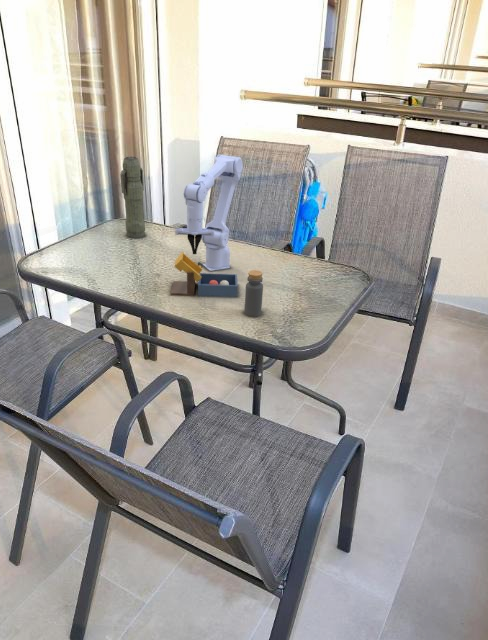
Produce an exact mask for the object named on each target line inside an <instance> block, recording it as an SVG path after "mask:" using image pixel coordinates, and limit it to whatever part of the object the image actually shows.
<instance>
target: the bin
mask: <svg viewBox="0 0 488 640" xmlns="http://www.w3.org/2000/svg"><path fill="white" fill-rule="evenodd" d="M199 275H200V276H201V277H202V278H201V279H200V280H199V281H198V282H197V296H198V297H216V298H217V297H219V298H237V297H238V286H239V285H238V274H237V273H209V272H200V273H199ZM211 280H215V281H217V282H218V285H209V282H210V281H211ZM223 280H226V281H228V283H229V285H220V282H221V281H223Z"/></svg>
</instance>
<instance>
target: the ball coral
mask: <svg viewBox="0 0 488 640" xmlns="http://www.w3.org/2000/svg"><path fill="white" fill-rule="evenodd" d="M209 285H218V282H217V281H215V280H211V281H210V282H209Z"/></svg>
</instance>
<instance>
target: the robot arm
mask: <svg viewBox="0 0 488 640" xmlns="http://www.w3.org/2000/svg"><path fill="white" fill-rule="evenodd" d="M243 164H244V163H243V160H242V157H240V156H232V155H225V154H221V153H219V154H217V155H216V157H214V161H213V165H212V166H211V167H210V169H209V170H208V172H202V173H201V174H200V175H199V177H198V178H196V179H195V181H194V182H193V183H188V184H187V185H185V188H184V191H183V199H184V200H185V205H186V226H187V227H182V228H181V227H180V228H179V227H178V228H176V227H175V229H174V235H175V236H179V235H180V236H181V235H182V236H187V239H188V240H187V241H188V243H189V244H190V247H191V251H192V255H197V252H198V248H199V245H200V242H201V241H202V243H203V244H204V247H205V262H203V263H201V264H202V265H203V267H204V268H206V269H207V270H208V271H209V272H213V271H220V270H227V269H230V268H231V266H230V261H231V260H230V257H231V251H230V247H229V246H228V243H229V239H230V238H229V237H230V236H229V234H230V229H229V228H228V226H227V225H226V221H227V218H228V214H229V211H230V207H231V204H232V200H233V196H234V193H235V189H236V185H237V182H239V181H240V179H241V176H242V172H243V169H244V165H243ZM217 178H219V179H221V180H222V185H221V189H220V192H219V195H218V199H217V203H216V207H215V211H214V214H213V218H212V220H211V221H209V222H207V223H206V224H205V227H204V228H203V217H204V216H203V215H204V214H203V211H204V205H203V204H204V201H206V197H207V195H208V192H209V191H210V190H211V188H213V186H214V185H215V180H217Z"/></svg>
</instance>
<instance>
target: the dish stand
mask: <svg viewBox="0 0 488 640" xmlns="http://www.w3.org/2000/svg"><path fill="white" fill-rule="evenodd" d="M193 262H194V263H196V262H195V261H193ZM195 291H196V281H195V280H194V272H187V273H186V281H183V280H182V281H181V280H180V281H179V280H173V282H172V287H171V292H170V295H171V296H190V297H191V296H192V297H194V296H195Z"/></svg>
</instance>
